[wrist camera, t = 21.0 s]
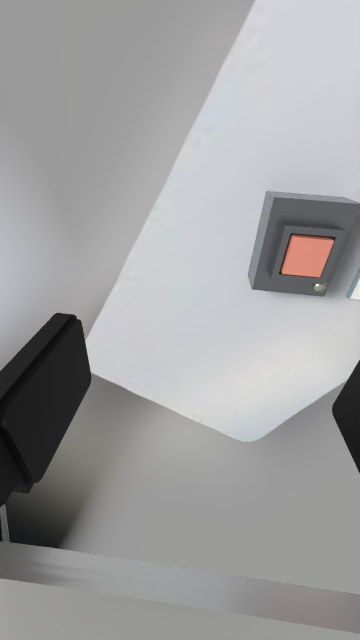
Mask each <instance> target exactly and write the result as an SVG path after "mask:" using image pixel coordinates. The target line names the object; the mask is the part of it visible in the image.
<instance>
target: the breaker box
mask: <svg viewBox="0 0 360 640" xmlns="http://www.w3.org/2000/svg"><path fill="white" fill-rule="evenodd" d="M359 211H360V203H358V202H355V201H352V200H350V199H347V198H344V197H332V196H320V195H307V194H295V193H282V192H270V191H266V195H265V200H264V204H263V209H262V213H261V218H260V223H259V227H258V232H257V236H256V241H255V245H254V250H253V254H252V259H251V263H250V268H249V272H248V277H249V281H250V284H251V288H252V289H253V290H264V291H274V292H284V293H294V294H304V295H314V296H324V295H325V293H326V290H327V288H328V285H329V283H330V281H331V278H332V276H333V273H334V271H335V269H336V266H337V264H338V261H339V259H340V257H341V254H342V252H343V249H344V247H345V245H346V242H347V240H348V237H349V235H350V233H351V230H352V228H353V225H354V223H355V221H356V218H357V216H358V213H359ZM291 233H296V234H307V235H319V236H329V237H330V238H331V239H333V240H334V242H333V245H332V248H331V250H330V253H329V255H328V258H327V260H326V263H325V266H324V268H323V271H322V273H321V276H320V277H310V276H299V275H289V274H282V272H281V270H280V268H281V265H282V261H283V258H284V254H285V251H286V247H287V244H288V241H289V237H290V234H291Z"/></svg>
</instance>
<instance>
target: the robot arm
mask: <svg viewBox="0 0 360 640" xmlns="http://www.w3.org/2000/svg"><path fill="white" fill-rule="evenodd" d="M90 383H91V372H90V366H89V361H88V355H87V350H86V344H85V339H84V333H83V327H82V323H81V320H78V319H77V317H76V316H75V315H72V314H62V313H56V314H55V315H53V316H52V317H51V319H50V320H49V321H48V322H47V323H46V324H45V325H44V326H43V327H42V328H41V329H40V330H39V331H38V332H37V333H36V334H35V335H34V336H33V337H32V339H31V340H30V341H29V342H28V343H27V344H26V345H25V346H24V347H23V348H22V349H21V350H20V351H19V352H18V353H17V354H16V355H15V357H13V359H12V360H11V361H10V362H9V363H8V364H7V365H6V366H5V367H4V368H3V369H2V370H1V371H0V640H360V595H358V594H352V593H346V592H339V591H333V590H327V589H320V588H313V587H307V586H300V585H294V584H288V583H281V582H274V581H268V580H261V579H255V578H248V577H242V576H235V575H229V574H222V573H215V572H209V571H203V570H196V569H189V568H183V567H177V566H170V565H163V564H157V563H149V562H143V561H136V560H129V559H123V558H116V557H109V556H102V555H96V554H89V553H82V552H76V551H69V550H62V549H56V548H48V547H39V546H32V545H23V544H16V543H9V536H8V527H7V519H6V510H5V503H6V502H7V500H8V498H9V496H10V495H11V493H12V491H14V492H22V493H29V492H30V490H31V488H32V486H33V484H34V483H37V482H39V481H40V480H41V478H42V477H43V475H44V473H45V472H46V470H47V468H48V466H49V464H50V462H51V460H52V458H53V456H54V454H55V452H56V450H57V448H58V446H59V444H60V442H61V440H62V438H63V437H64V435H65V433H66V431H67V429H68V427H69V425H70V423H71V421H72V419H73V417H74V415H75V413H76V411H77V409H78V407H79V405H80V403H81V401H82V399H83V397H84V396H85V394H86V392H87V390H88V388H89V386H90ZM332 412H333V416H334V418H335V421H336V423H337V425H338V427H339V429H340V432H341V434H342V436H343V438H344V440H345V442H346V444H347V447H348V449H349V451H350V453H351V455H352V458H353V460H354V462H355V464H356V466H357V468H358V471H359V473H360V360H359V362H358V364H357V365H356V367H355V369H354V370H353V372H352V374H351V375H350V377H349V379H348V380H347V382H346V384H345V386H344V387H343V389H342V391H341V393H340V394H339V396H338V397H337V399H336V401H335V402H334V404H333V408H332Z"/></svg>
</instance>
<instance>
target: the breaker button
mask: <svg viewBox="0 0 360 640" xmlns="http://www.w3.org/2000/svg"><path fill="white" fill-rule="evenodd" d="M333 242H334V240H333V239H331V238H330V237H329V236H319V235H307V234H296V233H291V234H290V237H289V241H288V244H287V247H286V251H285V254H284V258H283V261H282V265H281V268H280V270H281V272H282V274H289V275H299V276H310V277H320V276H321V273H322V271H323V268H324V266H325V263H326V260H327V258H328V255H329V253H330V250H331V248H332V245H333Z"/></svg>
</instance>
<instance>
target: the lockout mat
mask: <svg viewBox="0 0 360 640" xmlns="http://www.w3.org/2000/svg"><path fill="white" fill-rule="evenodd" d="M346 297H347V298H350V299H358V300H359V299H360V269H359V271H358V273H357V275H356V277H355V279H354V281H353V284H352V286H351V288H350V290H349V292H348V294H347V296H346Z"/></svg>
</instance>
